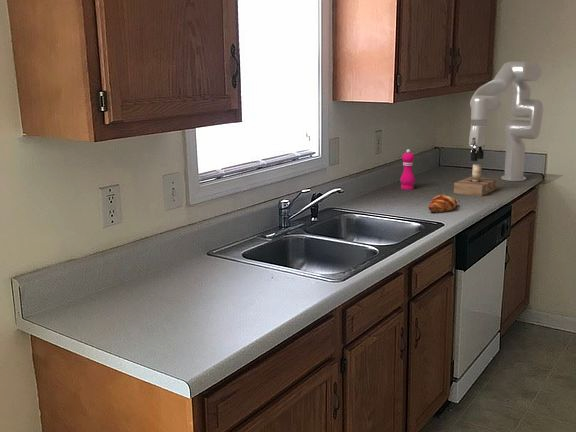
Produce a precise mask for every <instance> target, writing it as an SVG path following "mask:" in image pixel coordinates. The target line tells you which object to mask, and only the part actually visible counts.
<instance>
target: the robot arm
mask: <svg viewBox="0 0 576 432" xmlns="http://www.w3.org/2000/svg"><path fill="white" fill-rule="evenodd" d="M542 71H543V70H542V67H541V65H539V64H538V63H534V62H530V61H529V62H528V61H508V62H505V63H503V65H502V66H501V68H500V69H499V70H498V72H497V73H496V75H495V77H494V78H493V79H492V80H490V81H487V82H486V83H485V84H483V85H480V86H479V87H478V88H477V89H476V90H475V91H474V93H473V95H472V96H471V99H470V101H469V107H470V108H471V110H470V111H471V112H470V129H469V130H470V131H469V138H468V147H470V161H471V162H478V161H479V160H484V152H485V144H486V140H487V139H486V138H487V136H486V135H487V130H486V129H487V128H486V127H487V126H488V113H489V112H493V113H494V112H497V111H498V110H499V109H500V107H501V104H502V103H501V99H500V98H499V97H498V96H496V95H498V94H499V95H500V94H502V93H504V92H506V91H508V89H509V88H510V86H512V89H513V92H512V100H511V105H510V106H511V107H510V113H511V115H512V116H513V117H516V118H527V120H525V119H510V120H509V121H507V122H506V124H505V126H504V129H505V141H506V143H505V146H506V147H505V158H504V159H505V161H504V175H501V177H500V179H501V180H502V181H507V182H523V181H526V180H527V177H526V176H524V171H525V156H526V155H525V154H526V153H525V152H526V145H525V143H524V141H523V140H535V139H538V137H539V135H540V133H541V128H542V121H543V113H544V104H543V102H542V101H541V100H539V99H531V86H530V85H529V83H528V82H536V81H538V80H540V79H541V76H542V74H543V72H542ZM528 118H529V119H528Z"/></svg>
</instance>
